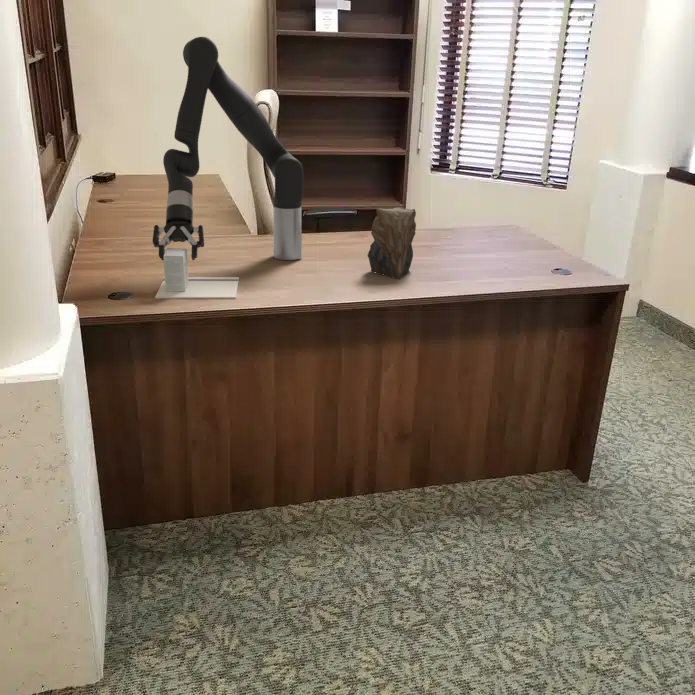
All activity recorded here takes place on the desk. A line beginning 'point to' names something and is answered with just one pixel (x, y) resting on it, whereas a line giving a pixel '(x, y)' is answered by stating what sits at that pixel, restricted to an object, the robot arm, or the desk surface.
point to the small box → (176, 269)
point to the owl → (392, 241)
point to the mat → (203, 289)
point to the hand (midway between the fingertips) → (177, 258)
